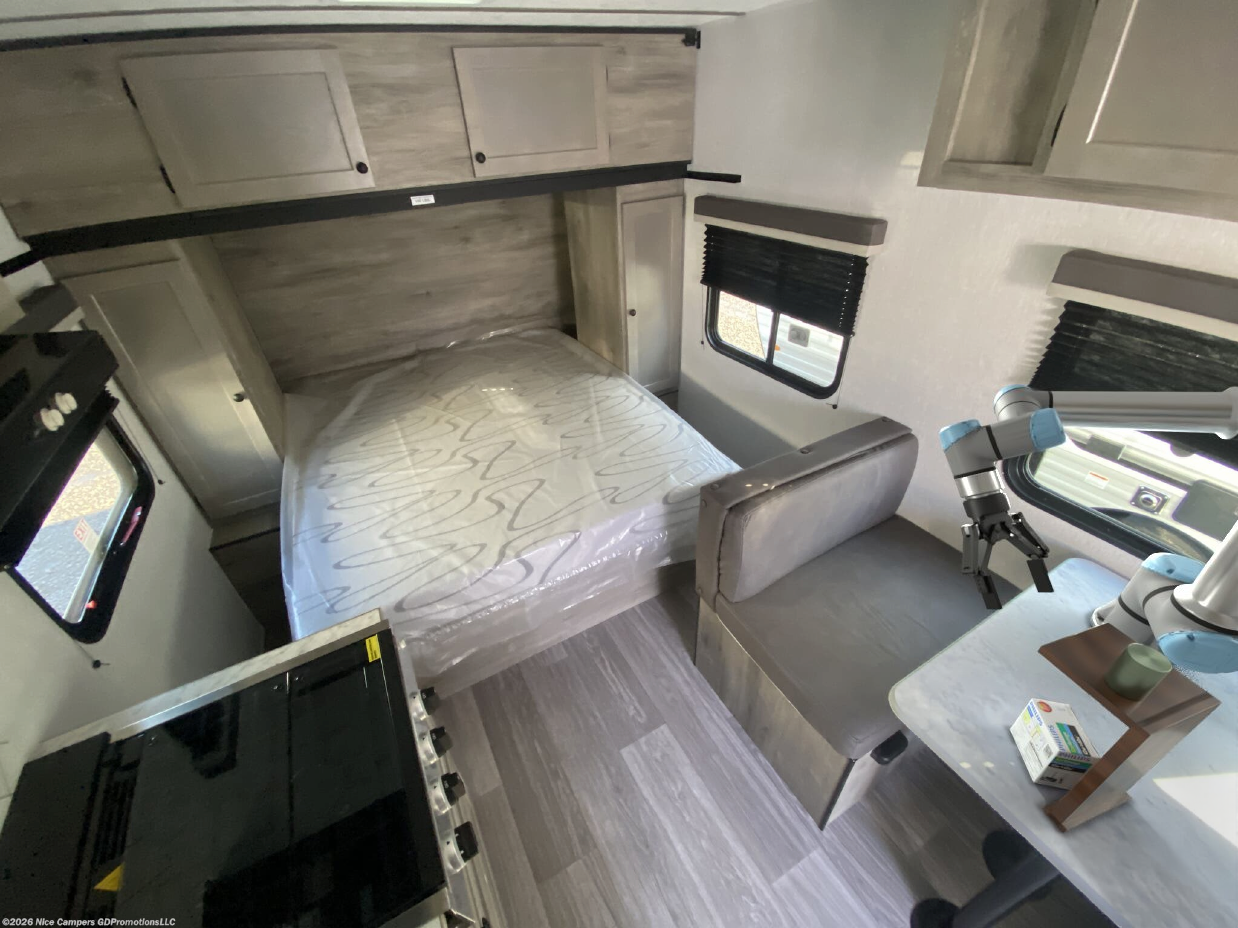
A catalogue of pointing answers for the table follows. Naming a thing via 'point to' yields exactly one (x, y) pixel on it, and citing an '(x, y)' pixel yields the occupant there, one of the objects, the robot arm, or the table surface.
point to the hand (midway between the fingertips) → (1020, 600)
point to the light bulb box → (1053, 744)
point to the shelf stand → (1124, 714)
